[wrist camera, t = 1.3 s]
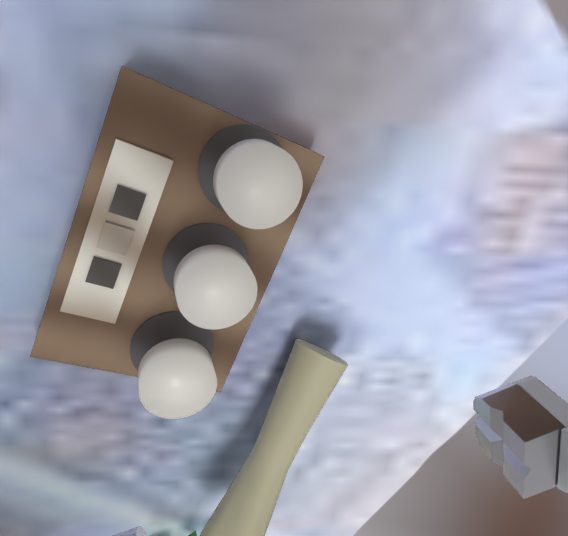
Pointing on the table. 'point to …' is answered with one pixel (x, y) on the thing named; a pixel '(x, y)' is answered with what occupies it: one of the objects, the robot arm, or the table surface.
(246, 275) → the middle button
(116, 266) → the button board
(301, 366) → the flower vase
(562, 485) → the robot arm
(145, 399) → the inner button
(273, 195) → the outer button
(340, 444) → the table surface
